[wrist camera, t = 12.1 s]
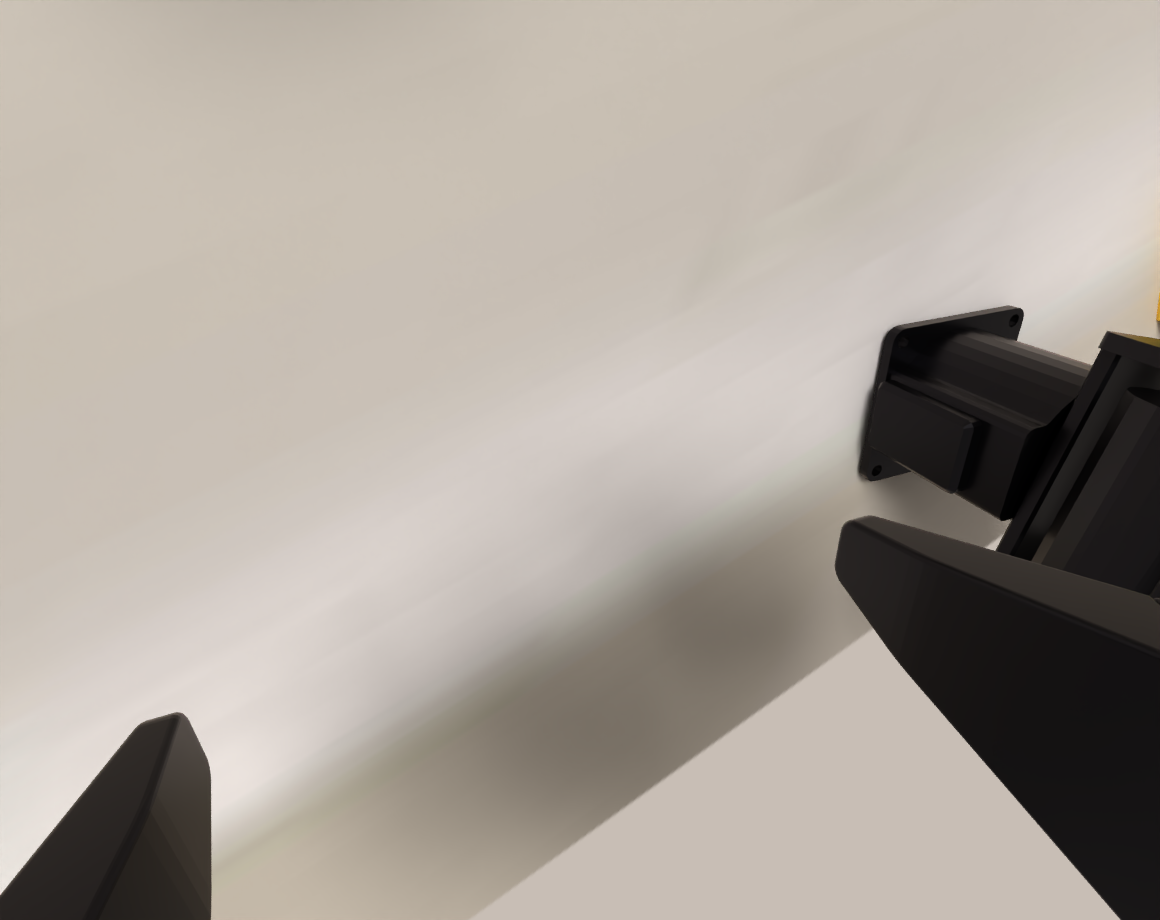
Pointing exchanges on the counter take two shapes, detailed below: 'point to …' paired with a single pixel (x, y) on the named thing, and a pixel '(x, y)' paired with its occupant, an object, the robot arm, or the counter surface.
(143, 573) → the counter surface
